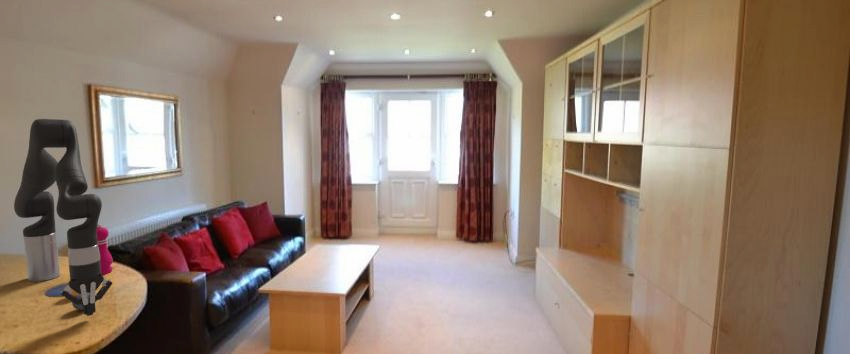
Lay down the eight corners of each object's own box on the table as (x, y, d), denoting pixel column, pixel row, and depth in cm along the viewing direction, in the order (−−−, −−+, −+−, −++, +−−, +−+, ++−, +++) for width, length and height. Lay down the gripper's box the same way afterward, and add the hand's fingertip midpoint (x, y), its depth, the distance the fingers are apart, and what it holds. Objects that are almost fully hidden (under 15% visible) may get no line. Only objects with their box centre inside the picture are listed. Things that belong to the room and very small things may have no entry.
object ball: (62, 297, 149) (61, 282, 148) (81, 292, 154) (80, 277, 153) (70, 301, 146) (68, 285, 146) (89, 295, 151) (87, 280, 150)
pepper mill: (101, 276, 170) (97, 226, 167) (86, 274, 171) (81, 225, 168) (118, 270, 177) (114, 222, 174) (103, 268, 178) (99, 220, 175)
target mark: (38, 291, 154) (38, 290, 154) (84, 279, 166) (84, 278, 166) (55, 299, 147) (55, 299, 147) (102, 286, 159) (102, 286, 159)
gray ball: (69, 310, 140) (68, 294, 139) (89, 304, 144) (88, 288, 144) (77, 314, 137) (76, 298, 136) (97, 308, 141) (96, 292, 141)
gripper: (108, 252, 139) (112, 304, 141) (54, 262, 129) (59, 317, 131) (113, 258, 133) (118, 311, 136) (58, 268, 124) (63, 326, 126)
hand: (89, 314), depth 133 cm, fingers closed
